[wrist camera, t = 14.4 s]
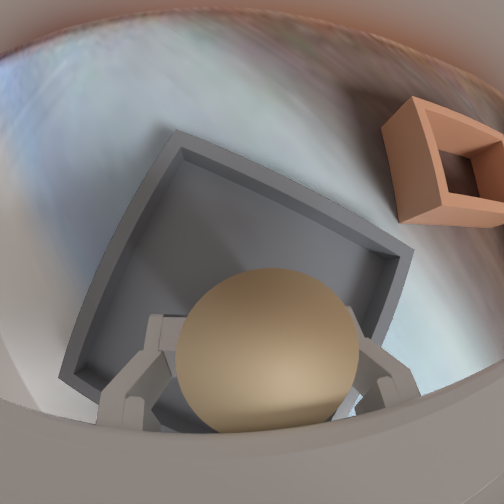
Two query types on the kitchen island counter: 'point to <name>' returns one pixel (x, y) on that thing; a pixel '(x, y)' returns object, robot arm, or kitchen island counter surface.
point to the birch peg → (267, 352)
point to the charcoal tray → (221, 261)
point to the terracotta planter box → (431, 170)
